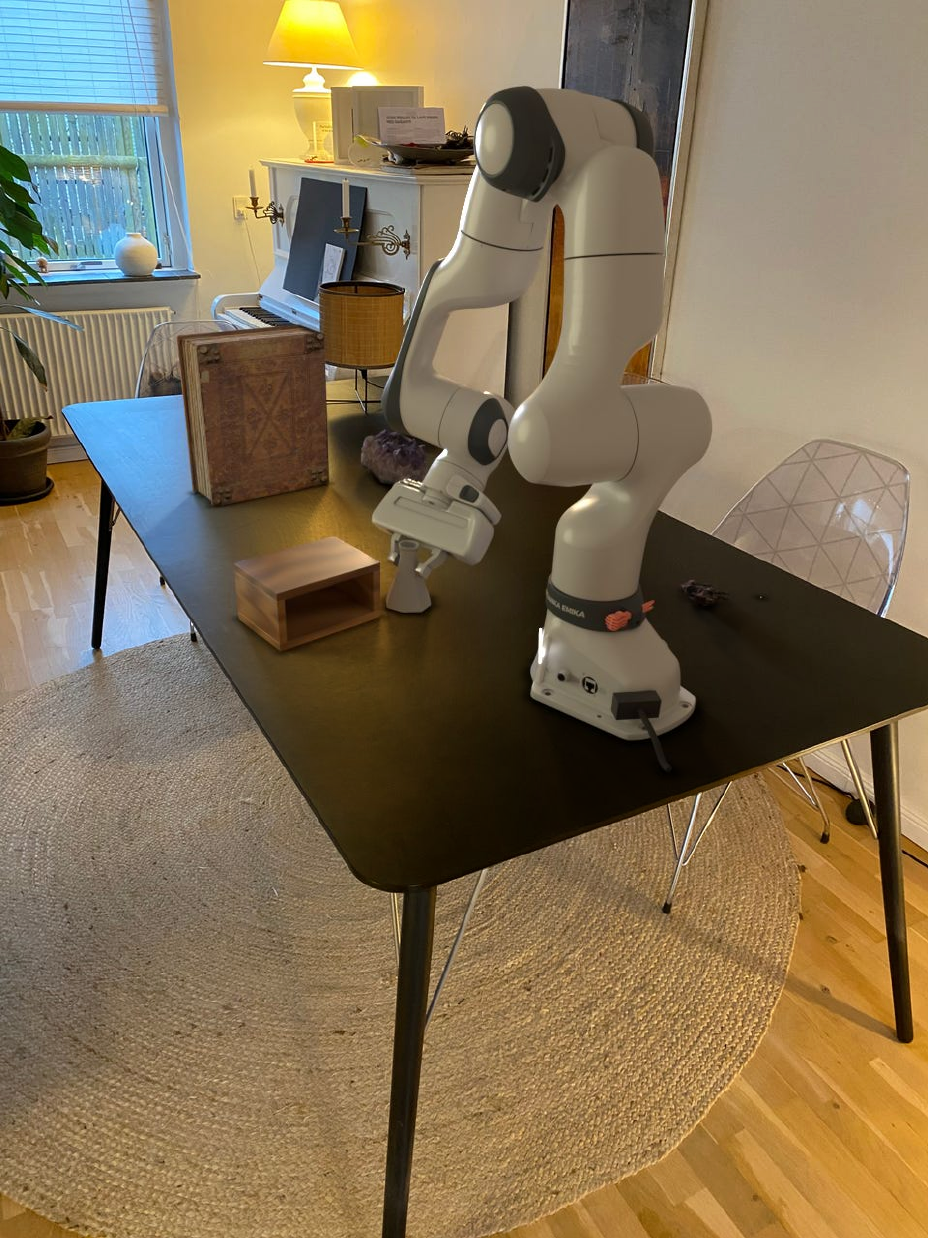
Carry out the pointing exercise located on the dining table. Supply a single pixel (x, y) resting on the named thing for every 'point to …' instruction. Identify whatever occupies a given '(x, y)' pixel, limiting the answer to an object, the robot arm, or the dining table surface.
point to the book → (255, 411)
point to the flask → (408, 582)
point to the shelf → (306, 612)
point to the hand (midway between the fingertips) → (405, 570)
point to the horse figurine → (703, 592)
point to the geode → (394, 458)
